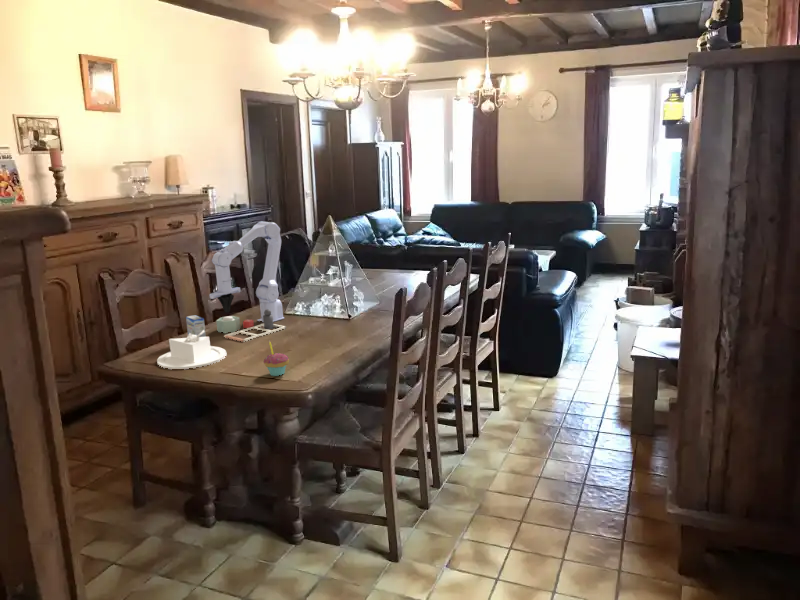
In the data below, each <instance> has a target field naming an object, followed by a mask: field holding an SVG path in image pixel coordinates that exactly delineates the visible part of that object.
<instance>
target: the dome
mask: <svg viewBox="0 0 800 600" xmlns="http://www.w3.org/2000/svg"><path fill="white" fill-rule="evenodd" d="M232 316H233V315H229V316H222V317H223V320H221V321H232V320H235V319H233V317H232Z"/></svg>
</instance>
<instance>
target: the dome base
mask: <svg viewBox="0 0 800 600" xmlns="http://www.w3.org/2000/svg"><path fill="white" fill-rule="evenodd" d="M231 316H232V317H233V319H235V320H232V321H221V320H223V317H224V316H222V317H221V316H220V317H219V318H218V319H216V320H215V323H216V329H217V330H216V331H218V332H217V333H221V332H223V333H222V334H229V333H228V332H231V333H233V332H235V331H237V330H238V329H239V330H241V329H240V328H241V321H240V316H234V315H231ZM239 330H238V331H239Z"/></svg>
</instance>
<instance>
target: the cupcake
mask: <svg viewBox="0 0 800 600" xmlns="http://www.w3.org/2000/svg"><path fill="white" fill-rule="evenodd" d="M268 342H269V348H270V353H271V354H269V355H267V356H266V357H265V358H264V360H263V365H264V366H265V367H266V369H267V370H268V371H269V374H270V376H271V377H279V375H280V376H282V374H283V375H284V374H285V373H286V368H287V366H288V365H289V363H290V359H289V357H288V355H287V354H284V353H281V352H277V353H276V352H275V353H274V349H273V345H272V342H271V340H268Z"/></svg>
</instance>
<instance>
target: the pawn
mask: <svg viewBox="0 0 800 600" xmlns="http://www.w3.org/2000/svg"><path fill="white" fill-rule="evenodd" d="M264 314H265V315H263V320H264V322H263V323H264V326H263V329H267V330H270V329H273V328H274V329H275V327H274V324H275V323H274V322H273V315H272V314H271V311H270V310H269V309H266V310H265V311H264ZM274 329H273V330H274Z"/></svg>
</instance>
